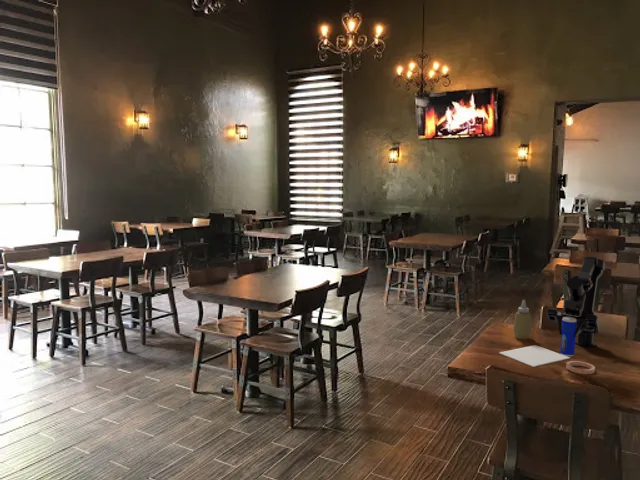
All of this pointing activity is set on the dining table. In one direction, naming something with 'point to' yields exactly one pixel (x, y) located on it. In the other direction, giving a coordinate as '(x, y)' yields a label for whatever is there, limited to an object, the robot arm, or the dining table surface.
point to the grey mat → (534, 355)
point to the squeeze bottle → (522, 322)
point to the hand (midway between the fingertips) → (567, 335)
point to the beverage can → (568, 336)
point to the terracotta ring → (581, 371)
